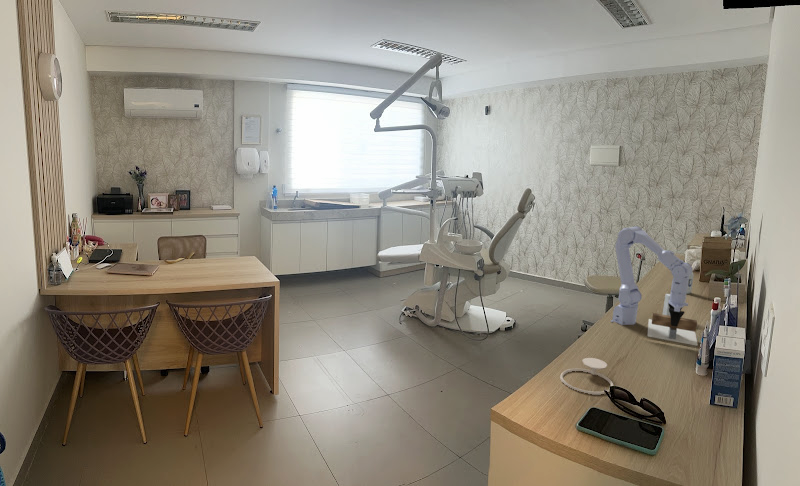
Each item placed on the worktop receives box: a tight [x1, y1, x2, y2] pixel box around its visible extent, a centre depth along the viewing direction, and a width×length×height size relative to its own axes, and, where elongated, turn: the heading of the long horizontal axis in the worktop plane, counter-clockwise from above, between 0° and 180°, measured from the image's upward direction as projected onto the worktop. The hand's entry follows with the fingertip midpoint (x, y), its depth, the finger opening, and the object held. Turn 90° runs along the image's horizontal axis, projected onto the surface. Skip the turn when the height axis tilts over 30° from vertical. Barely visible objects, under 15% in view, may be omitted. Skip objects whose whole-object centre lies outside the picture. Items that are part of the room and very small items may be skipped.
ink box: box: [686, 272, 695, 295], centre depth 265 cm, size 9×5×12 cm, turn 25°
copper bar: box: [652, 312, 698, 333], centre depth 198 cm, size 16×3×4 cm, turn 62°
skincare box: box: [662, 293, 670, 316], centre depth 220 cm, size 6×4×12 cm
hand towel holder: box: [559, 357, 615, 396], centre depth 160 cm, size 17×4×21 cm
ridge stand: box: [646, 318, 698, 348], centre depth 203 cm, size 24×18×5 cm
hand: (673, 323), depth 198 cm, fingers open, 7 cm apart
